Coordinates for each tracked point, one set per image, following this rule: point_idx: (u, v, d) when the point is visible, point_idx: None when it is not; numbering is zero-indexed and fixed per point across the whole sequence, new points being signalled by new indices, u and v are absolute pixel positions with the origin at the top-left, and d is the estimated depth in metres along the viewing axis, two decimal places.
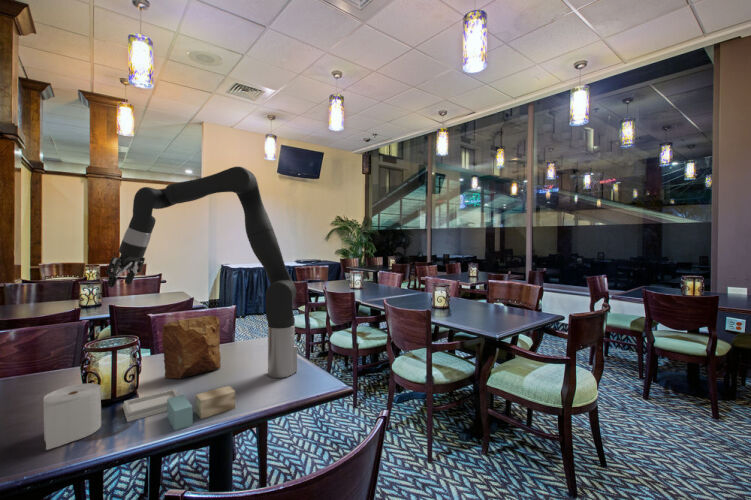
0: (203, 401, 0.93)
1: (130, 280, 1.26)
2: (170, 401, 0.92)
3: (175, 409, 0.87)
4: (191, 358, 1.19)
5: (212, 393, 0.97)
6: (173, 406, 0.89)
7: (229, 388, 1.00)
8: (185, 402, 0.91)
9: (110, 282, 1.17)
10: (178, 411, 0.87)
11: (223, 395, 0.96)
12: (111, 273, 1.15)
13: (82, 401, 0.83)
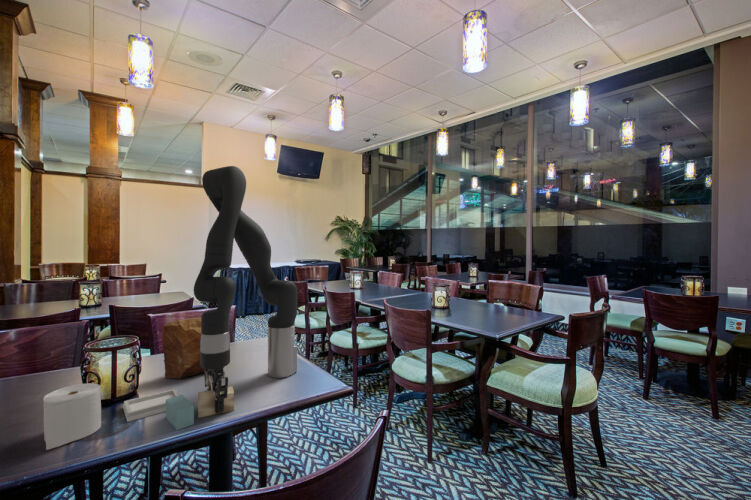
0: (200, 400, 0.93)
1: None
2: (169, 401, 0.92)
3: (176, 409, 0.88)
4: (191, 358, 1.19)
5: (212, 392, 0.97)
6: (174, 406, 0.89)
7: (230, 389, 0.99)
8: (185, 402, 0.91)
9: (221, 407, 0.94)
10: (180, 410, 0.87)
11: None
12: (225, 395, 0.93)
13: (82, 401, 0.83)
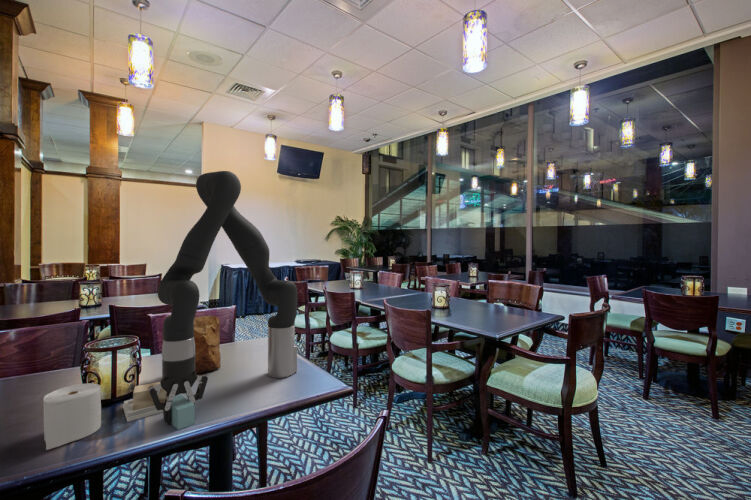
0: (136, 393, 0.94)
1: None
2: None
3: (177, 408, 0.88)
4: None
5: None
6: (174, 405, 0.89)
7: None
8: (185, 401, 0.92)
9: (164, 417, 0.89)
10: (181, 409, 0.87)
11: None
12: (156, 406, 0.87)
13: (82, 401, 0.83)
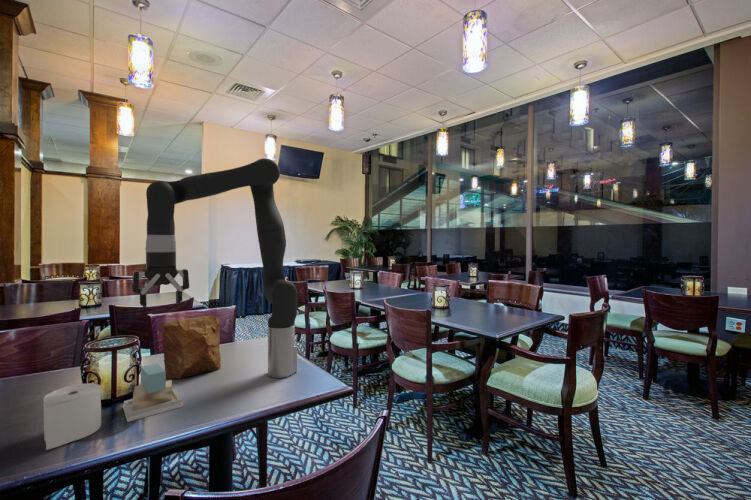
0: (136, 393, 0.94)
1: (177, 299, 1.05)
2: (144, 368, 0.99)
3: (149, 373, 0.95)
4: (191, 358, 1.19)
5: None
6: (147, 371, 0.96)
7: (169, 382, 1.01)
8: (158, 368, 0.98)
9: None
10: (152, 375, 0.94)
11: None
12: (132, 289, 0.97)
13: (82, 401, 0.83)
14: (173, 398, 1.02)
